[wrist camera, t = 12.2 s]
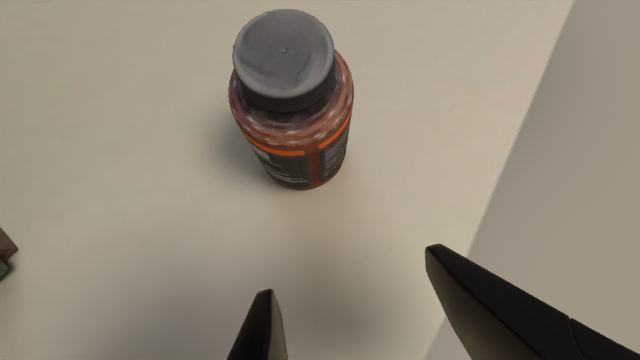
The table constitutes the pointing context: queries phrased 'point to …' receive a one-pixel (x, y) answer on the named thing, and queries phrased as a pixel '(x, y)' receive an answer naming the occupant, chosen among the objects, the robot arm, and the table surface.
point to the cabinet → (6, 246)
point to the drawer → (3, 268)
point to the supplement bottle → (292, 97)
